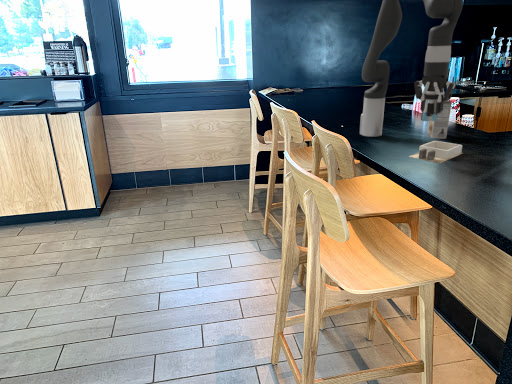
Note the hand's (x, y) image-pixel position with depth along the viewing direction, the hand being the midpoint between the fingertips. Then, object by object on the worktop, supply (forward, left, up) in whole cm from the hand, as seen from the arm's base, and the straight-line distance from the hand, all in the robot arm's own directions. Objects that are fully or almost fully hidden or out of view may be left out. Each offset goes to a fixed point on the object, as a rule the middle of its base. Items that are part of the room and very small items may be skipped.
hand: (430, 112), depth 134 cm
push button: (0, 0, -3) cm, 3 cm away
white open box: (0, +10, -17) cm, 20 cm away
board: (0, +7, -18) cm, 19 cm away
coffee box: (-16, +40, -18) cm, 47 cm away
